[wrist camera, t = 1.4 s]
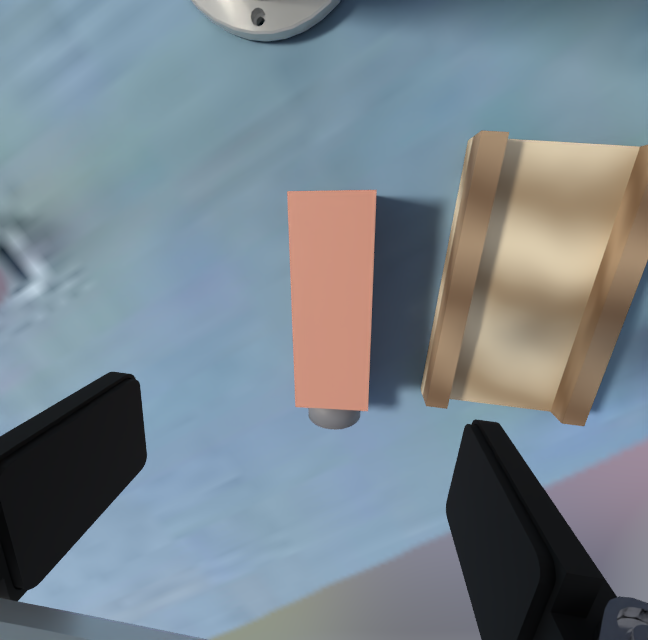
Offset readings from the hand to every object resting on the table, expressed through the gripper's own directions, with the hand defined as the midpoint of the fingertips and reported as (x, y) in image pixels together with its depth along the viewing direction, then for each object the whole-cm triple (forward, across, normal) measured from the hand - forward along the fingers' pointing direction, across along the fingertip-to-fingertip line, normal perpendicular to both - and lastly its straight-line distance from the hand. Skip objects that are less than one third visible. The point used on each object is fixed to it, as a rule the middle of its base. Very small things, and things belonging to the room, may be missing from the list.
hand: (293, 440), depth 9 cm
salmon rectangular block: (+17, 0, -1) cm, 17 cm away
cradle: (+17, -13, -3) cm, 21 cm away
